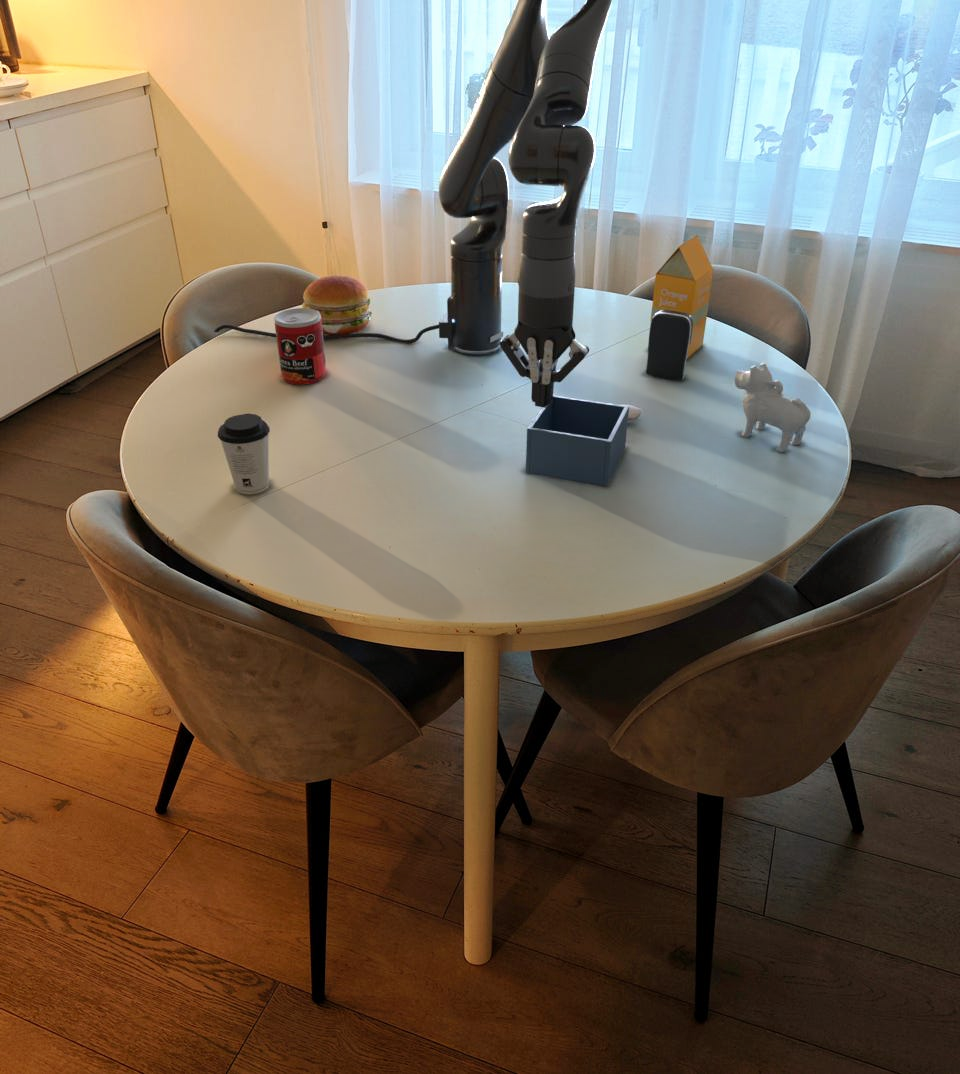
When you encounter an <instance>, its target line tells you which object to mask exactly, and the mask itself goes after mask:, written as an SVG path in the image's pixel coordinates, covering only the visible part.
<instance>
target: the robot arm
mask: <svg viewBox="0 0 960 1074" xmlns="http://www.w3.org/2000/svg"><path fill="white" fill-rule="evenodd" d="M546 2H547V1H546V0H517V1H516V4H515V6H514V9H513V12H512V14H511V17H510V18H509V21H508V23H507V26H506V28H505V31H504V33H503V35H502V38H501V40H500V42H499V44H498V46H497V48H496V51H495V53H494V55H493V57H492V61H491V63H490V65H489V68H488V70H487V72H486V75H485V78H484V81H483V83H482V86H481V89H480V91H479V95H478V97H477V99H476V102H475V103H474V106H473V109H472V111H471V113H470V115H469V118H468V120H467V122H466V124H465V127H464V129H463V131H462V133H461V135H460V137H459V138H458V141H457V142H456V145H455V146H454V148H453V150H452V152H451V153H450V155H449V157H448V159H447V161H446V163H445V165H444V167H443V169H442V172H441V174H440V178H439V184H438V199H439V203H440V207H441V208H442V210H443V212H444V213H445V214H446V215H448V216H449V217H451V218H453V219H470V220H469V221H468V223H467V224H466V225H465V227H464V228H462V229H461V230H460V231H459V232H457V233H456V234H455V235H454V236H453V237H451V240H450V245H449V246H450V247H449V249H450V251H449V252H450V295H449V297H448V298H447V300H446V313H443V314H442V316H441V318H440V320H439V322H438V324H435V325H431V326H428V327H425V328H422V329H421V330H420V331H419V332H418V333H416V334H417V335H416V336H415V337H414V338H410V339H402V338H397V337H394V336H390V335H387V334H383V333H376V332H355V333H351V334H341V335H326V334H323V340H338V339H352V338H377V339H378V338H379V339H383V340H387V341H391V342H397V343H404V344H413V343H416V342H418V341H419V340H420V339H421V337H422V335H423V334H425V333H428V332H430V331H435V330H438V338H439V339H447V349H451V350H453V351H454V352H457V353H460V354H464V355H469V356H484V355H489V354H493V353H496V352H497V351H499V350H502V351H503V353H504V354H505V356H506V357H507V359H508V360H509V361H510V363H511V364H512V366H513V368H514V369H515V370H516V372H517V373H518V375H519V376H520V377H522V378H528V379H529V380H530V381H531V396H530V397H531V402H532V403H534V406H535V407H538V408H542V407H544V408H545V407H546V406H547V405H548V404H549V403H550V402H551V401H552V399H553V395H554V388H555V387H554V385H555V383H561V382H562V381H563V380H564V379H565V378H567V376H568V375H569V374H570V373H572V371H573V370H574V369H575V368H576V367H577V366H579V364H580V363H581V362H582V361H583V360H584V359H585V358H586V356H588V354H589V352H590V348H589V346H588V345H582V344H581V343H580V342H579V341H577V339H576V332H575V330H574V326H573V323H574V309H575V307H574V306H575V292H576V290H575V289H576V238H577V226H578V225H577V224H578V217H579V212H580V206H581V203H582V199H583V195H584V192H585V190H586V186H587V185H588V181H589V178H590V176H591V173H592V170H593V167H594V163H595V160H596V159H595V158H596V152H597V151H596V148H597V147H596V141H595V139H594V137H593V135H592V133H591V131H590V130H589V129H588V128H586V127H585V126H581V125H576V124H578V123H579V122H581V121H582V119H584V118H585V115H586V113H587V111H588V107H589V101H590V94H591V88H592V81H593V76H594V68H595V61H596V57H597V54H598V49H599V45H600V43H601V38H602V36H603V33H604V30H605V27H606V23H607V21H608V16H609V13H610V10H611V7H612V4H613V0H585V2H584V4H582V6H581V8H579V9H578V10H577V11H576V13H574V14H573V16H571V17H570V18H569V19H567V21H565V22H564V23H563V24H562V25H561V26H559V27H558V28H557V29H556V30H555V31H554V32H553V33H552V34H551V36H550V35H549V31H548V22H547V21H548V20H547V10H546V9H547V8H546V4H547V3H546ZM509 143H510V145H509V150H508V166H509V170H510V172H511V175H512V176H513V178H514V180H516V181H517V182H518V183H520V184H523V185H526V186H541V187H542V186H543V187H561V188H563V192H562V195H561V196H559V197H558V198H556V199H553V200H549V201H544V202H537V203H534V204H530V205H529V206H528V207H526V208H525V209H524V211H523V213H522V221H521V253H520V261H519V269H518V278H517V286H518V294H517V295H518V299H517V300H518V301H517V324H516V326H515V328H514V332H513V333H511V334H508V335H506V336H504V331H502V307H503V306H502V301H503V300H502V299H503V297H502V295H503V290H502V289H503V248H504V247H503V246H504V244H505V241H506V237H507V230H508V229H507V227H508V226H507V225H508V215H509V214H508V213H509V202H510V201H509V199H510V197H509V196H510V186H509V185H510V184H509V179H508V174H507V170H506V168H505V166H504V165H503V163H502V162H501V161H500V160H499V159H498V158H497V157H496V156H497V155H498V154H499V153H500V151H502V150H503V149H504V148H505V147H506V146H507V145H508V144H509ZM224 329H230V330H233V331H237V332H241V333H246V334H252V335H260V336H266V337H269V338H270V337H272V338H276V332H275V333H274V332H269V331H263V330H257V329H250V328H245V327H240V326H236V325H232V324H227V323H226V324H221V325H219V326H218V327H216V328H215V329H214V330H213V333H218V332H220V331H221V330H224ZM503 337H504V338H503ZM520 346H521V347H522V348H521V347H520ZM568 348H570V349H569V352H568V357H569V359H568V360H567V361H566V363H564V364H563V366H561V368H560V369H557V365H558V362H559V359H560V357H561V356H562V355H563V354H564V353H565V352H566V351H567V350H568ZM522 349H523V350H524V351H523V350H522ZM525 353H526V354H525ZM526 355H527V356H528V357H527V356H526Z"/></svg>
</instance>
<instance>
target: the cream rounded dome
mask: <svg viewBox="0 0 960 1074" xmlns="http://www.w3.org/2000/svg"><path fill="white" fill-rule="evenodd" d="M620 405H623V406H629V414H628V424H629V423H633V422H635V421H636V420H638V418H639V417H640V416H641V414H642V412H643V409H641V408H639V407H636V406H634V405H631V404H627V403H622V404H620Z"/></svg>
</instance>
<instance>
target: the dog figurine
mask: <svg viewBox="0 0 960 1074" xmlns="http://www.w3.org/2000/svg"><path fill="white" fill-rule="evenodd" d="M734 386H735V387H736V388H737V389H739V390H745V391H746V394H745V395H744V397H743V399H742V409H743V412H744V415H745V422H746V423H745V428H744V430H743V431H742V432H741V436H742V437H744V438H749V437H751V436H752V434H753V433H754V432H753V430H754V428H755V429H757V430H761V431H763V430H765V429H766V425H769V426H772V427H774V428H777V429H778V430H781V440H780V443H779V445H778V447H777V448H776V451H777V452H779V453H785V452H786V451H787V449H788V448H789V445H793V446H798V445H800V444H801V443H802V439H803V436H804V433H805V431H806V430H807V429H806V425H807V424H808V422H809V421H810V419H811V411H810V408H809V407H808V406H807V404H806V403H805V402H803V401H802V400H801V398H798V397H794V398H792V399H791V398H790V397H788V396H786V395H785V394H783V391H784V384H783V383H782V382H781V381H779V380H773V375H772V372H771V371H770V369H769V367H768V366H767V364H766V363H764V362H762V363H759V364H758V367H757V366H756V365H751V366H750V367H749V370H744V369H740V370H739V369H738V370H737V371H736V373H735V375H734Z"/></svg>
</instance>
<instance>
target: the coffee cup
mask: <svg viewBox="0 0 960 1074" xmlns="http://www.w3.org/2000/svg"><path fill="white" fill-rule="evenodd" d="M270 428H271V427H270V425H268V423H267V422H266V421H265V420H263V419H262V417H261V416H259V415H258V414H255V413H250V412H249V413H241V414H236V415H233V416H230V417H227V418H226V420H225V421H224V422H223V424H221V425H220V426H219V428H218V430H217V438H218V439H219V440H220V443H221V447H222V449H223V453H224V456H225V460H226V462H227V465H228V469H229V473H230V476H231V478H232V482H233V485H234V487H235V490H236V492H237V493H240V494H243V495H249V496H251V495H257V494H260V493H263V492H265V491H266V490H267V489H268V488H269V487H270V474H269V473H270V465H269V464H270V463H269V458H270V457H269V433H270V431H271V429H270Z"/></svg>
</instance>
